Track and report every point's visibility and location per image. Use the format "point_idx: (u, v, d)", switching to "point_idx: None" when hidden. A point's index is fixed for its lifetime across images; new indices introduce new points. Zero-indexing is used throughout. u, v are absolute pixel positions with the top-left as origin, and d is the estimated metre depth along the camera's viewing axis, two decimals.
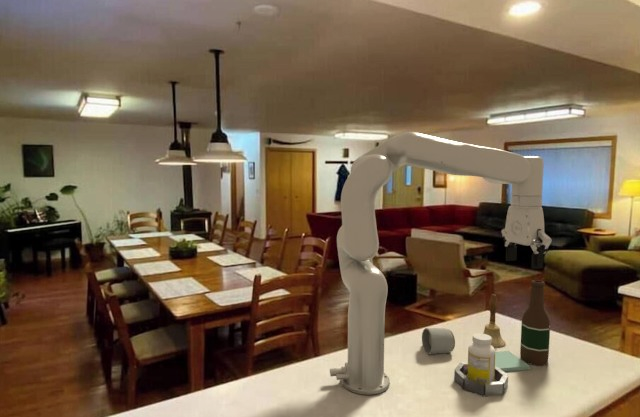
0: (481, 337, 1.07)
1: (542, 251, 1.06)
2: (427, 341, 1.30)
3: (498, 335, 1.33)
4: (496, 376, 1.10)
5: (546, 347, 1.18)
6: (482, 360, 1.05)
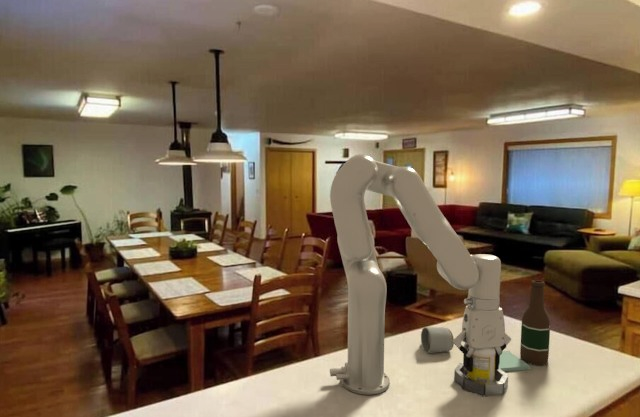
0: None
1: None
2: (426, 340, 1.31)
3: None
4: (496, 376, 1.10)
5: (546, 347, 1.18)
6: (482, 360, 1.05)
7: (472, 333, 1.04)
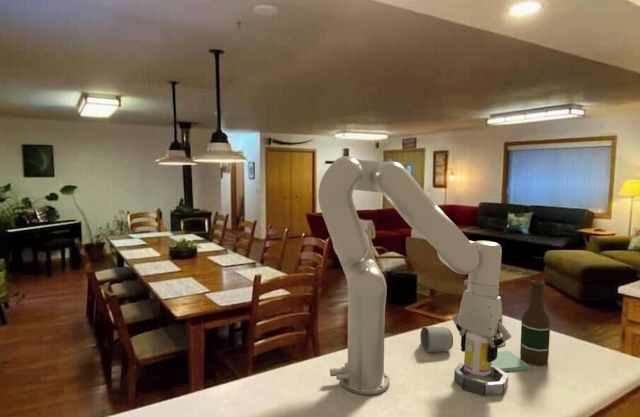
0: None
1: None
2: (426, 339, 1.31)
3: (498, 335, 1.33)
4: (496, 376, 1.10)
5: (546, 347, 1.18)
6: (467, 342, 1.07)
7: (460, 312, 1.09)
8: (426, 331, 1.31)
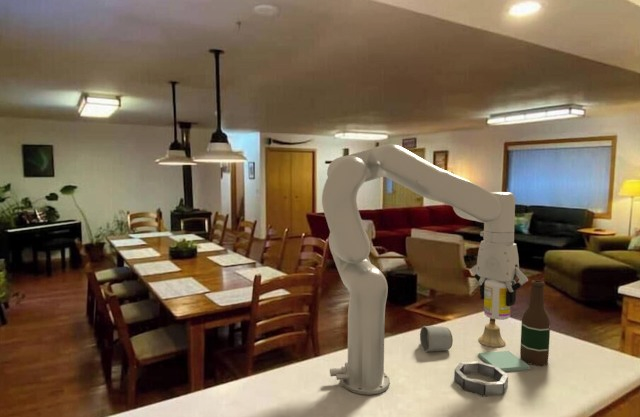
0: None
1: (517, 289, 1.08)
2: (425, 339, 1.32)
3: (498, 335, 1.33)
4: (496, 376, 1.10)
5: (546, 347, 1.18)
6: (486, 288, 1.12)
7: (478, 261, 1.14)
8: (426, 331, 1.32)
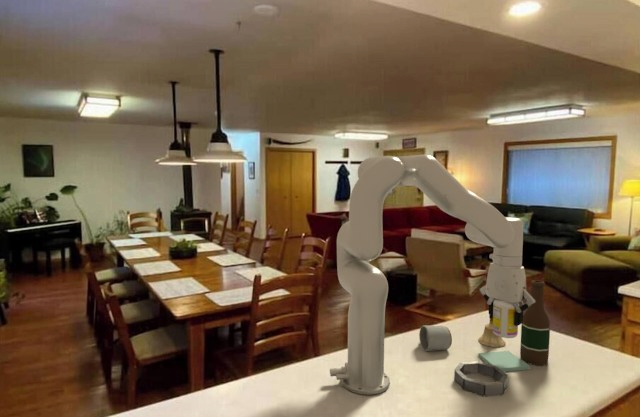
0: None
1: (524, 309, 1.15)
2: (424, 338, 1.32)
3: None
4: (496, 376, 1.10)
5: (546, 347, 1.18)
6: (495, 308, 1.18)
7: (487, 283, 1.20)
8: (425, 330, 1.32)
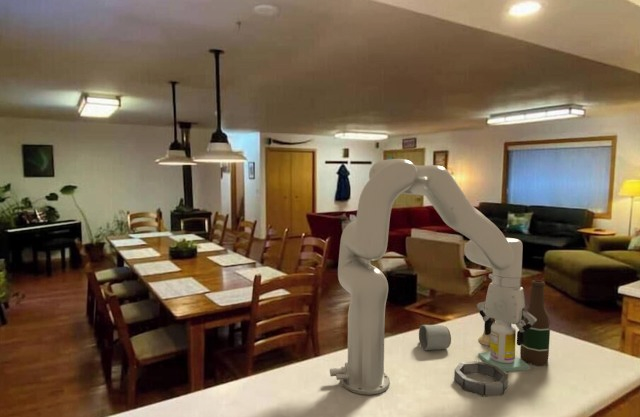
0: None
1: (527, 329, 1.14)
2: (424, 338, 1.33)
3: None
4: (496, 376, 1.10)
5: (546, 347, 1.18)
6: (493, 333, 1.19)
7: (486, 302, 1.21)
8: (424, 329, 1.33)
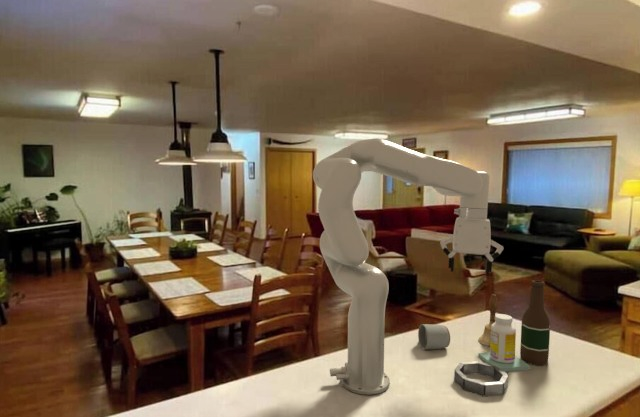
0: (501, 316, 1.19)
1: None
2: (423, 337, 1.33)
3: None
4: (496, 376, 1.10)
5: (546, 347, 1.18)
6: (493, 333, 1.19)
7: (455, 238, 1.18)
8: (424, 329, 1.33)
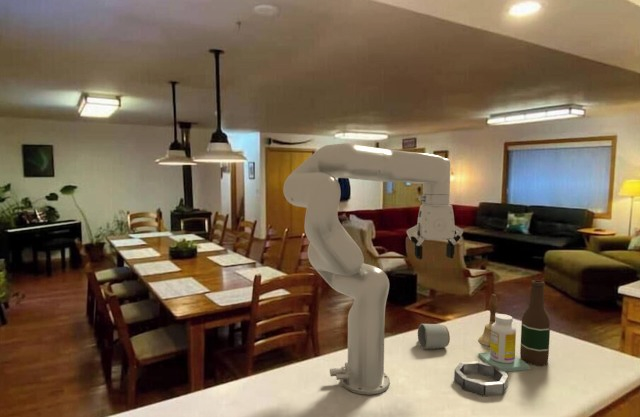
0: (501, 316, 1.19)
1: None
2: (423, 336, 1.34)
3: None
4: (496, 376, 1.10)
5: (546, 347, 1.18)
6: (493, 333, 1.19)
7: (425, 225, 1.18)
8: (423, 328, 1.34)
